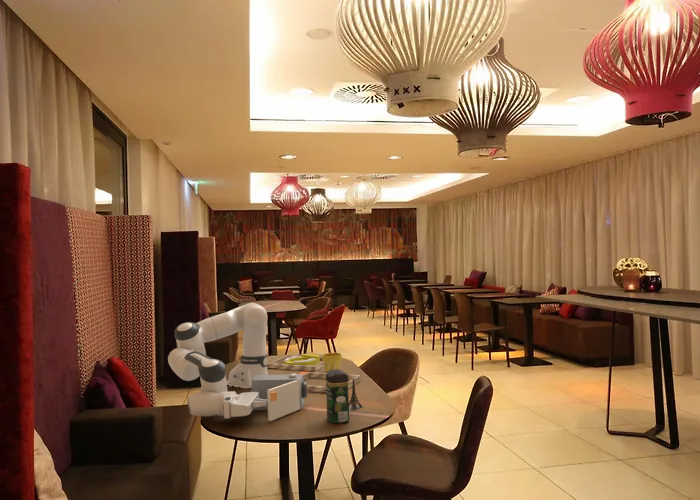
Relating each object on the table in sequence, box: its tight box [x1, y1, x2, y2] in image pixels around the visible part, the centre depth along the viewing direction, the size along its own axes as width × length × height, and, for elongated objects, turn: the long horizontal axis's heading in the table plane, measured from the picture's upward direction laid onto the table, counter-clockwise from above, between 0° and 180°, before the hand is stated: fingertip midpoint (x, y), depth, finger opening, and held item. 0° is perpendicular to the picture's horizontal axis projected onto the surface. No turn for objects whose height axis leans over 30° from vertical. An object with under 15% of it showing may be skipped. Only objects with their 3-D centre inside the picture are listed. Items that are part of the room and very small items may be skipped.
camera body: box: [251, 373, 308, 411], centre depth 220 cm, size 22×9×13 cm, turn 89°
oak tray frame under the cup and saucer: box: [303, 371, 361, 394], centre depth 254 cm, size 28×26×2 cm
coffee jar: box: [325, 369, 350, 424], centre depth 200 cm, size 10×8×19 cm
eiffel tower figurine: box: [349, 378, 365, 414], centre depth 215 cm, size 15×10×13 cm
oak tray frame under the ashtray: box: [267, 355, 325, 372], centre depth 301 cm, size 29×24×2 cm
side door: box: [267, 378, 302, 422], centre depth 207 cm, size 19×2×12 cm, turn 147°
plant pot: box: [321, 352, 343, 373], centre depth 279 cm, size 10×10×10 cm
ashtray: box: [283, 353, 321, 366], centre depth 300 cm, size 16×21×5 cm
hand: (266, 402), depth 202 cm, fingers closed
